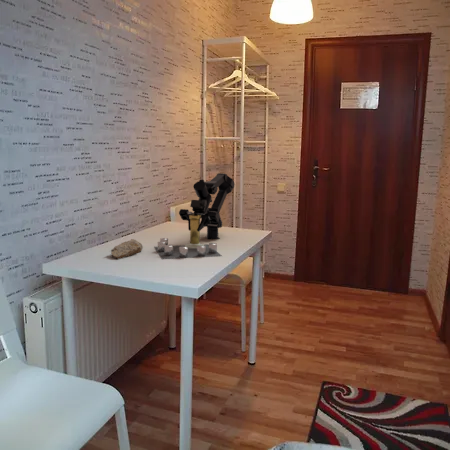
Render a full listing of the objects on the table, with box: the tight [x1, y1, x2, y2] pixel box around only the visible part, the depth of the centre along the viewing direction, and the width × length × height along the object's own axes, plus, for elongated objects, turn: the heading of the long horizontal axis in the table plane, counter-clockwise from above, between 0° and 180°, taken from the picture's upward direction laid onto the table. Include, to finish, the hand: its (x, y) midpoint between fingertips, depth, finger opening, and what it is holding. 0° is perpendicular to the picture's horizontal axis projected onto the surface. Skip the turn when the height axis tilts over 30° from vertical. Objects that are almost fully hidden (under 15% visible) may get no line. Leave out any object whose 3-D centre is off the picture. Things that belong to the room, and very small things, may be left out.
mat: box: [153, 243, 223, 260], centre depth 197 cm, size 24×26×1 cm
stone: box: [110, 238, 144, 260], centre depth 192 cm, size 21×6×10 cm
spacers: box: [157, 237, 218, 259], centre depth 194 cm, size 16×28×4 cm, turn 70°
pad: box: [185, 242, 205, 249], centre depth 207 cm, size 9×9×1 cm
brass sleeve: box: [189, 214, 202, 244], centre depth 205 cm, size 5×5×13 cm
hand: (193, 230), depth 204 cm, fingers closed on brass sleeve, 4 cm apart
